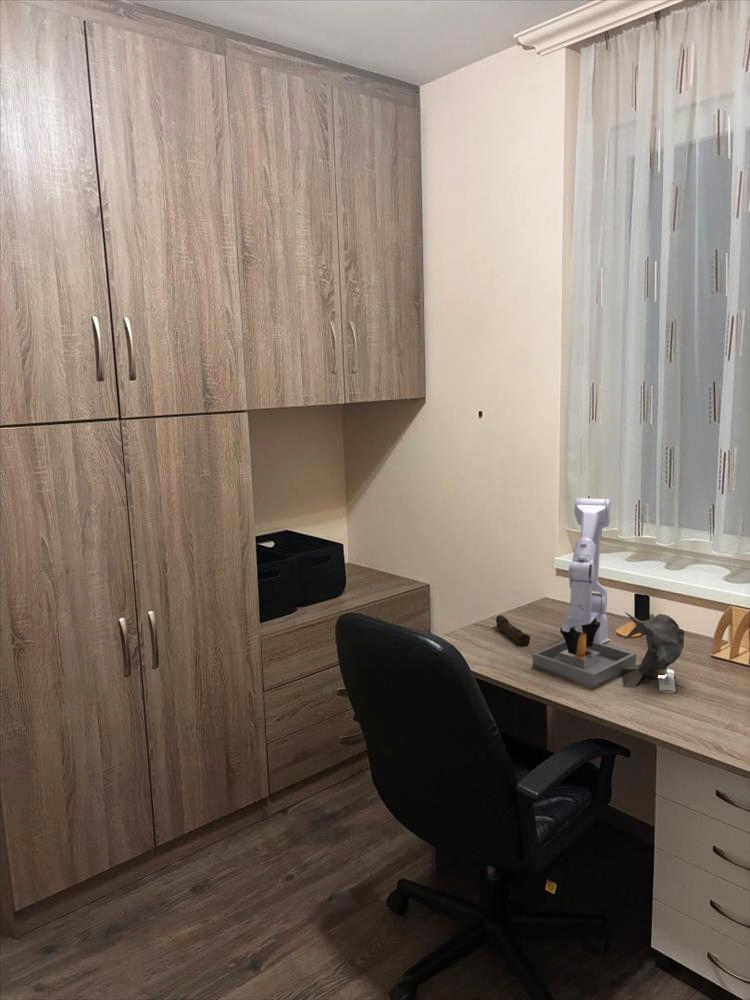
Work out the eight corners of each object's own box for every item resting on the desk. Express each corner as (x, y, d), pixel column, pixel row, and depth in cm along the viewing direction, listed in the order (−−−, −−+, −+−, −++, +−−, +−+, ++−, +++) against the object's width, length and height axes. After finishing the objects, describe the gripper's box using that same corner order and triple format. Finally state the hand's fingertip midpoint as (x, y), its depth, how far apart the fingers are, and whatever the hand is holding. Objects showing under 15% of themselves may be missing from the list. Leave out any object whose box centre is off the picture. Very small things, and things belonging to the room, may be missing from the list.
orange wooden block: (577, 657, 215) (578, 631, 213) (587, 660, 212) (588, 633, 211) (571, 661, 213) (572, 634, 211) (581, 664, 210) (582, 636, 209)
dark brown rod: (530, 646, 228) (530, 631, 227) (518, 648, 227) (518, 633, 226) (505, 626, 246) (505, 612, 245) (493, 627, 245) (493, 613, 244)
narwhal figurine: (686, 692, 193) (689, 625, 190) (623, 687, 197) (625, 621, 194) (679, 669, 207) (682, 607, 203) (621, 665, 211) (622, 604, 208)
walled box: (574, 648, 224) (575, 635, 224) (635, 667, 209) (636, 653, 209) (532, 667, 212) (532, 653, 211) (594, 689, 197) (594, 674, 196)
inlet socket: (576, 653, 218) (576, 645, 218) (600, 661, 212) (600, 652, 212) (559, 661, 213) (559, 652, 213) (583, 669, 207) (583, 660, 206)
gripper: (583, 594, 217) (583, 639, 219) (553, 606, 208) (552, 652, 210) (605, 599, 212) (604, 645, 214) (574, 612, 203) (573, 659, 205)
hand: (580, 649), depth 212 cm, fingers open, 7 cm apart
